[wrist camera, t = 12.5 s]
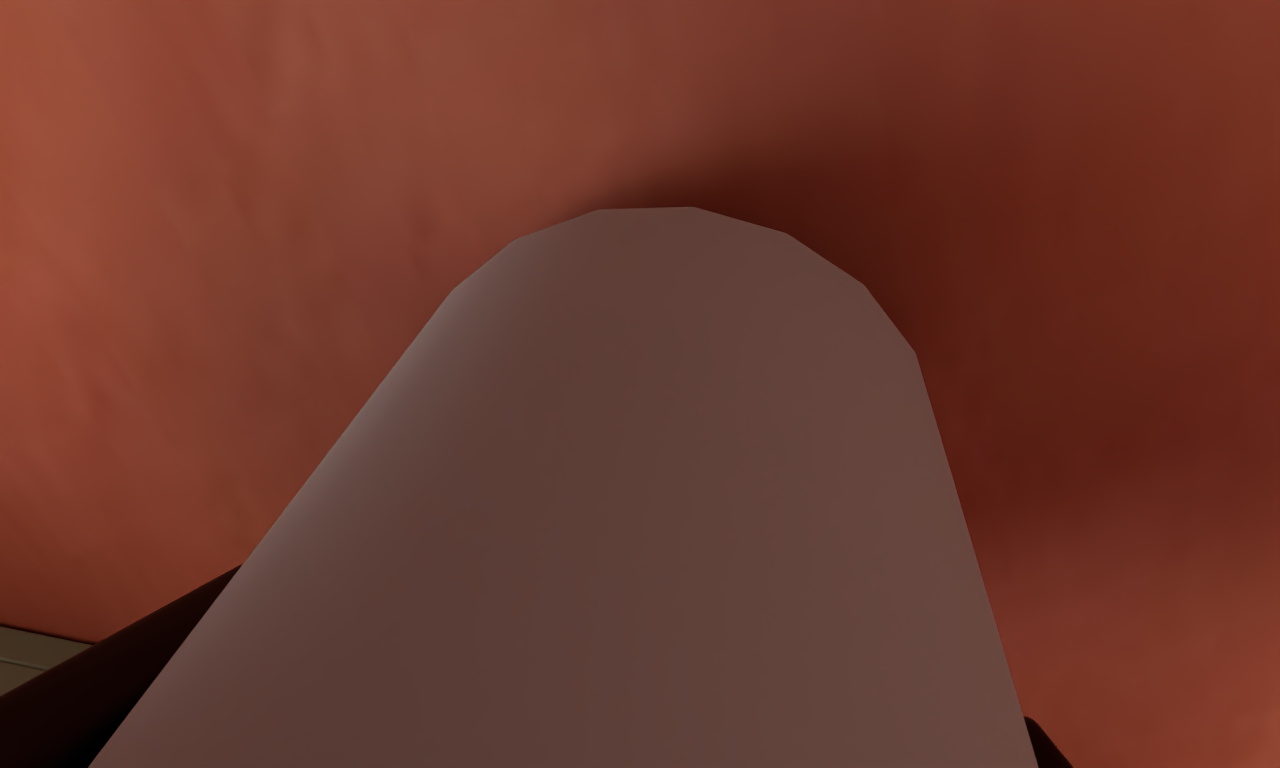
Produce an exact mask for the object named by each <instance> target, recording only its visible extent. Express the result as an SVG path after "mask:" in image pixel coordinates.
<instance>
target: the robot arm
mask: <svg viewBox="0 0 1280 768" xmlns="http://www.w3.org/2000/svg"><path fill="white" fill-rule="evenodd" d="M242 565H243V564H242ZM242 565H239V566H237V567H235V568H234V569H232V570H230V571H228V572H226V573H224V574H223V575H221V576H219V577H217V578H215V579H213V580H212V581H210V582H208V583H206V584H204V585H202V586H201V587H199V588H197V589H195V590H193V591H192V592H190V593H188V594H186V595H184V596H182V597H181V598H179V599H177V600H175V601H173V602H171V603H170V604H168V605H166V606H164V607H162V608H160V609H159V610H157V611H155V612H153V613H151V614H149V615H148V616H146V617H144V618H142V619H140V620H138V621H137V622H135V623H133V624H131V625H129V626H127V627H126V628H124V629H122V630H120V631H118V632H117V633H115V634H113V635H111V636H109V637H107V638H106V639H104V640H102V641H100V642H98V643H96V644H95V645H93V646H91V647H89V648H87V649H85V650H84V651H82V652H80V653H78V654H76V655H74V656H73V657H71V658H69V659H67V660H65V661H63V662H62V663H60V664H58V665H56V666H54V667H52V668H51V669H49V670H47V671H45V672H43V673H42V674H40V675H38V676H36V677H34V678H32V679H31V680H29V681H27V682H25V683H23V684H21V685H20V686H18V687H16V688H14V689H12V690H10V691H9V692H7V693H5V694H3V695H1V696H0V768H88V767H89V765H90V764H91V763H92V762H93V760H94V759H95V758H96V756H97V755H98V754H99V752H100V751H101V750H102V748H103V747H104V746H105V745H106V743H107V742H108V741H109V739H110V738H111V737H112V735H113V734H114V733H115V731H116V730H117V729H118V727H119V726H120V725H121V724H122V722H123V721H124V720H125V718H126V717H127V716H128V714H129V713H130V712H131V710H132V709H133V708H134V706H135V705H136V704H137V703H138V701H139V700H140V699H141V697H142V696H143V695H144V693H145V692H146V691H147V689H148V688H149V687H150V685H151V684H152V683H153V682H154V680H155V679H156V678H157V676H158V675H159V674H160V672H161V671H162V670H163V668H164V667H165V666H166V664H167V663H168V662H169V661H170V659H171V658H172V657H173V655H174V654H175V653H176V651H177V650H178V649H179V647H180V646H181V645H182V644H183V642H184V641H185V640H186V638H187V637H188V636H189V634H190V633H191V632H192V630H193V629H194V628H195V626H196V625H197V624H198V623H199V621H200V620H201V619H202V617H203V616H204V615H205V613H206V612H207V611H208V609H209V608H210V607H211V605H212V604H213V603H214V602H215V600H216V599H217V598H218V596H219V595H220V594H221V592H222V591H223V590H224V588H225V587H226V586H227V584H228V583H229V582H230V581H231V579H232V578H233V577H234V575H235V574H236V573H237V571H238V570H239V569H240V567H241V566H242ZM1023 717H1024V720H1025V724H1026V727H1027V730H1028V734H1029V737H1030V741H1031V744H1032V747H1033V751H1034V754H1035V757H1036V761H1037V764H1038V768H1073V766H1072V765H1071V764H1070V763H1069V762H1068V760H1067V759H1066V758H1065V757H1064V755H1063V754H1062V753H1061V752H1060V750H1059V749H1058V748H1057V747H1056V746H1055V744H1054V743H1053V742H1052V741H1051V739H1050V738H1049V737H1048V736H1047V734H1046V733H1045V732H1044V731H1043V730H1042V728H1041V727H1040V726H1039V725H1038V724H1037V723H1036V722H1035V721H1034V720H1033V719H1031V718H1029V717H1026V716H1023Z"/></svg>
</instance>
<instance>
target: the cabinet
mask: <svg viewBox="0 0 1280 768" xmlns="http://www.w3.org/2000/svg"><path fill="white" fill-rule="evenodd" d="M91 646H93V645H89V644H84V643H79V642H74V641H70V640H65V639H60V638H55V637H50V636H45V635H40V634H36V633H31V632H26V631H21V630H16V629H11V628H6V627H1V626H0V696H1V695H3V694H5V693H7V692H9V691H10V690H12V689H14V688H16V687H18V686H20V685H21V684H23V683H25V682H27V681H29V680H31V679H32V678H34V677H36V676H38V675H40V674H42V673H43V672H45V671H47V670H49V669H51V668H52V667H54V666H56V665H58V664H60V663H62V662H63V661H65V660H67V659H69V658H71V657H73V656H74V655H76V654H78V653H80V652H82V651H84V650H85V649H87V648H89V647H91Z"/></svg>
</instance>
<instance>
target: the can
mask: <svg viewBox="0 0 1280 768" xmlns="http://www.w3.org/2000/svg"><path fill="white" fill-rule="evenodd" d="M88 768H1038V764H1037V761H1036V757H1035V754H1034V751H1033V747H1032V744H1031V741H1030V737H1029V734H1028V730H1027V727H1026V724H1025V720H1024V717H1023V714H1022V710H1021V707H1020V704H1019V700H1018V697H1017V693H1016V690H1015V687H1014V683H1013V680H1012V677H1011V673H1010V670H1009V666H1008V663H1007V660H1006V656H1005V653H1004V650H1003V646H1002V643H1001V639H1000V636H999V633H998V629H997V626H996V623H995V619H994V616H993V612H992V609H991V606H990V602H989V599H988V596H987V592H986V589H985V585H984V582H983V579H982V575H981V572H980V569H979V565H978V562H977V558H976V555H975V552H974V548H973V545H972V542H971V538H970V535H969V531H968V528H967V525H966V521H965V518H964V515H963V511H962V508H961V504H960V501H959V498H958V494H957V491H956V488H955V484H954V481H953V477H952V474H951V471H950V467H949V464H948V461H947V457H946V454H945V450H944V447H943V444H942V440H941V437H940V434H939V430H938V427H937V423H936V420H935V417H934V413H933V410H932V407H931V403H930V400H929V396H928V393H927V390H926V386H925V383H924V380H923V376H922V373H921V369H920V366H919V363H918V359H917V356H916V353H915V351H914V350H913V349H912V347H911V346H910V345H909V343H908V342H907V341H906V339H905V338H904V337H903V336H902V334H901V333H900V332H899V330H898V329H897V328H896V326H895V325H894V324H893V322H892V321H891V320H890V318H889V317H888V316H887V314H886V313H885V312H884V310H883V309H882V308H881V307H880V305H879V304H878V303H877V301H876V300H875V299H874V297H873V296H872V295H871V293H870V292H869V291H868V289H867V288H866V287H865V285H864V284H862V283H861V282H859V281H858V280H856V279H855V278H853V277H852V276H850V275H849V274H847V273H846V272H844V271H843V270H841V269H840V268H838V267H837V266H835V265H834V264H832V263H831V262H829V261H828V260H826V259H825V258H823V257H822V256H820V255H819V254H817V253H816V252H814V251H813V250H811V249H810V248H808V247H807V246H805V245H804V244H802V243H801V242H799V241H798V240H796V239H795V238H793V237H792V236H790V235H789V234H787V233H784V232H781V231H777V230H774V229H770V228H767V227H763V226H759V225H756V224H752V223H749V222H745V221H742V220H738V219H735V218H731V217H728V216H724V215H721V214H717V213H714V212H710V211H707V210H703V209H700V208H696V207H665V208H628V209H598V210H595V211H592V212H589V213H586V214H584V215H581V216H578V217H575V218H572V219H570V220H567V221H564V222H561V223H558V224H556V225H553V226H550V227H547V228H544V229H542V230H539V231H536V232H533V233H530V234H528V235H525V236H522V237H519V238H516V239H514V240H513V241H512V242H510V243H509V244H508V245H507V246H505V247H504V248H503V249H502V250H501V251H499V252H498V253H497V254H496V255H494V256H493V257H492V258H491V259H490V260H488V261H487V262H486V263H485V264H483V265H482V266H481V267H480V268H478V269H477V270H476V271H475V272H474V273H472V274H471V275H470V276H469V277H467V278H466V279H465V280H464V281H463V282H461V283H460V284H459V285H458V286H456V287H455V288H454V289H453V290H452V291H451V292H450V293H449V295H448V296H447V297H446V299H445V300H444V301H443V303H442V304H441V305H440V306H439V308H438V309H437V310H436V312H435V313H434V314H433V316H432V317H431V318H430V320H429V321H428V322H427V323H426V325H425V326H424V327H423V329H422V330H421V331H420V333H419V334H418V335H417V337H416V338H415V339H414V341H413V342H412V343H411V344H410V346H409V347H408V348H407V350H406V351H405V352H404V354H403V355H402V356H401V358H400V359H399V360H398V362H397V363H396V364H395V365H394V367H393V368H392V369H391V371H390V372H389V373H388V375H387V376H386V377H385V379H384V380H383V381H382V383H381V384H380V385H379V386H378V388H377V389H376V390H375V392H374V393H373V394H372V396H371V397H370V398H369V400H368V401H367V402H366V404H365V405H364V406H363V407H362V409H361V410H360V411H359V413H358V414H357V415H356V417H355V418H354V419H353V421H352V422H351V423H350V424H349V426H348V427H347V428H346V430H345V431H344V432H343V434H342V435H341V436H340V438H339V439H338V440H337V442H336V443H335V444H334V445H333V447H332V448H331V449H330V451H329V452H328V453H327V455H326V456H325V457H324V459H323V460H322V461H321V463H320V464H319V465H318V466H317V468H316V469H315V470H314V472H313V473H312V474H311V476H310V477H309V478H308V480H307V481H306V482H305V484H304V485H303V486H302V487H301V489H300V490H299V491H298V493H297V494H296V495H295V497H294V498H293V499H292V501H291V502H290V503H289V504H288V506H287V507H286V508H285V510H284V511H283V512H282V514H281V515H280V516H279V518H278V519H277V520H276V522H275V523H274V524H273V525H272V527H271V528H270V529H269V531H268V532H267V533H266V535H265V536H264V537H263V539H262V540H261V541H260V543H259V544H258V545H257V546H256V548H255V549H254V550H253V552H252V553H251V554H250V556H249V557H248V558H247V560H246V561H245V562H244V564H243V565H242V566H241V567H240V569H239V570H238V571H237V573H236V574H235V575H234V577H233V578H232V579H231V581H230V582H229V583H228V584H227V586H226V587H225V588H224V590H223V591H222V592H221V594H220V595H219V596H218V598H217V599H216V600H215V602H214V603H213V604H212V605H211V607H210V608H209V609H208V611H207V612H206V613H205V615H204V616H203V617H202V619H201V620H200V621H199V623H198V624H197V625H196V626H195V628H194V629H193V630H192V632H191V633H190V634H189V636H188V637H187V638H186V640H185V641H184V642H183V644H182V645H181V646H180V647H179V649H178V650H177V651H176V653H175V654H174V655H173V657H172V658H171V659H170V661H169V662H168V663H167V664H166V666H165V667H164V668H163V670H162V671H161V672H160V674H159V675H158V676H157V678H156V679H155V680H154V682H153V683H152V684H151V685H150V687H149V688H148V689H147V691H146V692H145V693H144V695H143V696H142V697H141V699H140V700H139V701H138V703H137V704H136V705H135V706H134V708H133V709H132V710H131V712H130V713H129V714H128V716H127V717H126V718H125V720H124V721H123V722H122V724H121V725H120V726H119V727H118V729H117V730H116V731H115V733H114V734H113V735H112V737H111V738H110V739H109V741H108V742H107V743H106V745H105V746H104V747H103V748H102V750H101V751H100V752H99V754H98V755H97V756H96V758H95V759H94V760H93V762H92V763H91V764H90V765H89V767H88Z"/></svg>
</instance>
